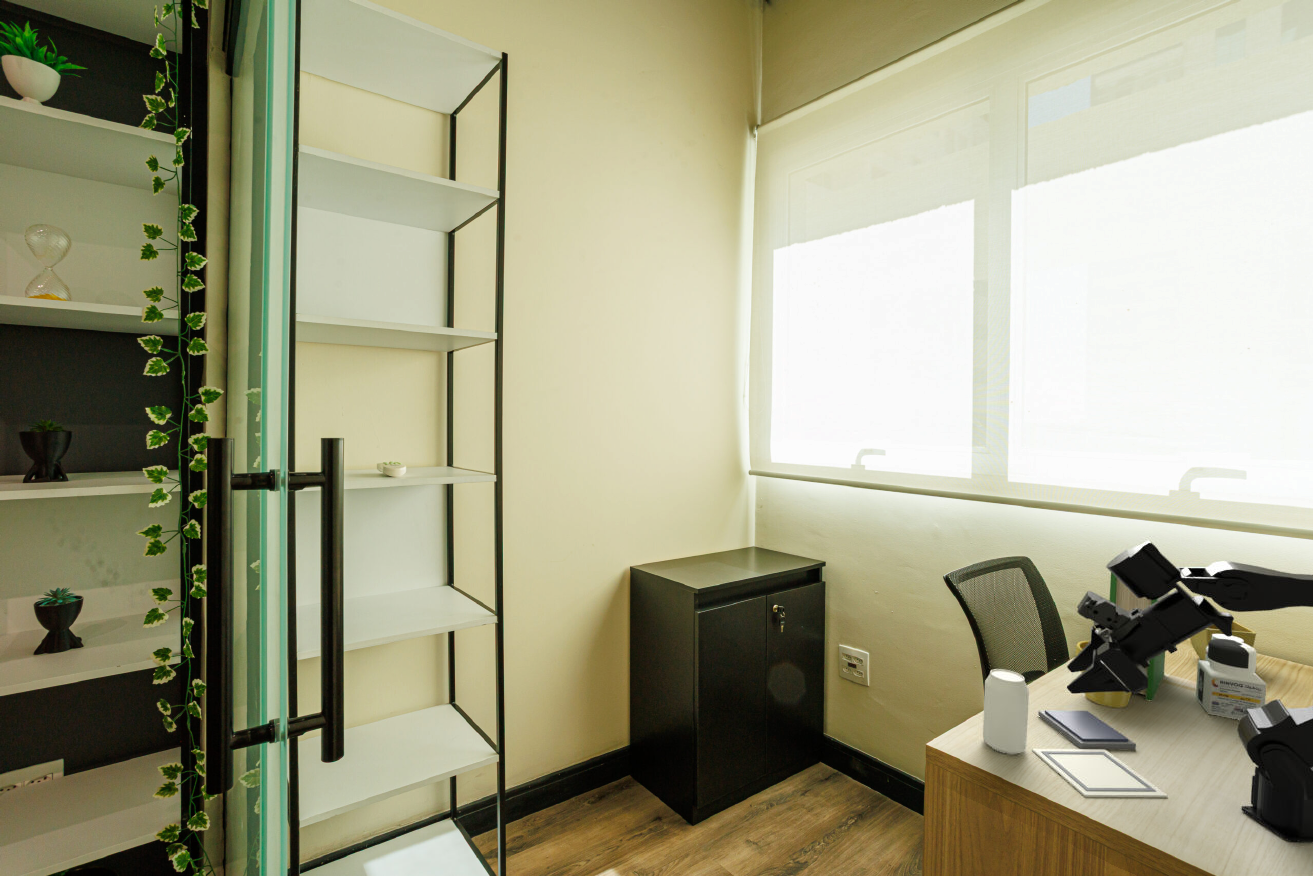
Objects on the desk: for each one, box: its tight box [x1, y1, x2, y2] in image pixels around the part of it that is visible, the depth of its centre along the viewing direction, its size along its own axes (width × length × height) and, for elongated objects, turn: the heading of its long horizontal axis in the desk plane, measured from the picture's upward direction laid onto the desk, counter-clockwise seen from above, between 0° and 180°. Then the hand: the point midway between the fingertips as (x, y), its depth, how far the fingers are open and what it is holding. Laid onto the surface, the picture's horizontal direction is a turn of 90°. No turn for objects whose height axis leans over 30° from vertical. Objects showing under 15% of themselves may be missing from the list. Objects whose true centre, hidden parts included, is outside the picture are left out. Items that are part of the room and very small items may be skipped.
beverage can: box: [982, 668, 1030, 755], centre depth 100 cm, size 6×6×12 cm
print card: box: [1031, 748, 1168, 798], centre depth 94 cm, size 12×12×1 cm
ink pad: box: [1037, 709, 1137, 751], centre depth 106 cm, size 11×9×1 cm
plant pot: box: [1075, 640, 1132, 709], centre depth 118 cm, size 10×10×10 cm
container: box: [1195, 639, 1267, 721], centre depth 115 cm, size 8×8×13 cm
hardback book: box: [1109, 571, 1170, 702], centre depth 127 cm, size 18×7×24 cm, turn 135°
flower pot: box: [1189, 620, 1257, 661], centre depth 137 cm, size 9×9×9 cm
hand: (1069, 679), depth 96 cm, fingers open, 9 cm apart
